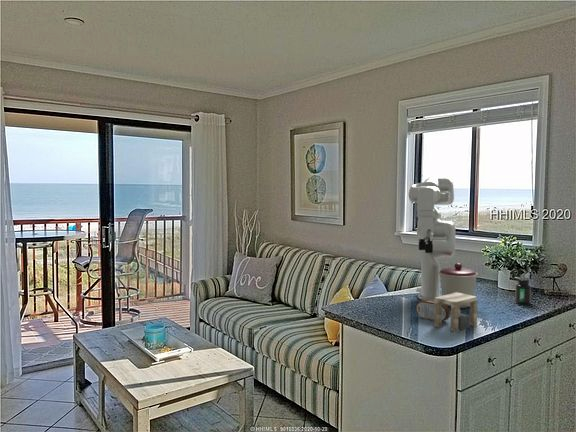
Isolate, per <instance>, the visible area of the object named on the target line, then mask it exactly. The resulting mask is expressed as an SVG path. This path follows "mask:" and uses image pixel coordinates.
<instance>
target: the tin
mask: <svg viewBox="0 0 576 432" xmlns="http://www.w3.org/2000/svg"><path fill="white" fill-rule="evenodd" d="M415 311H416V314H417V316H418V317H420V318H421V319H425V320H430V321H433V322H434V321H435V301H431V300H426V299H423V300H422V299H420V300H419V301H418V302H417V303H416V305H415ZM450 317H451V310H450V309H449V306H447V305H446V304H445V303H442V322H445V321H446V320H448V319H449V318H450Z"/></svg>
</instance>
